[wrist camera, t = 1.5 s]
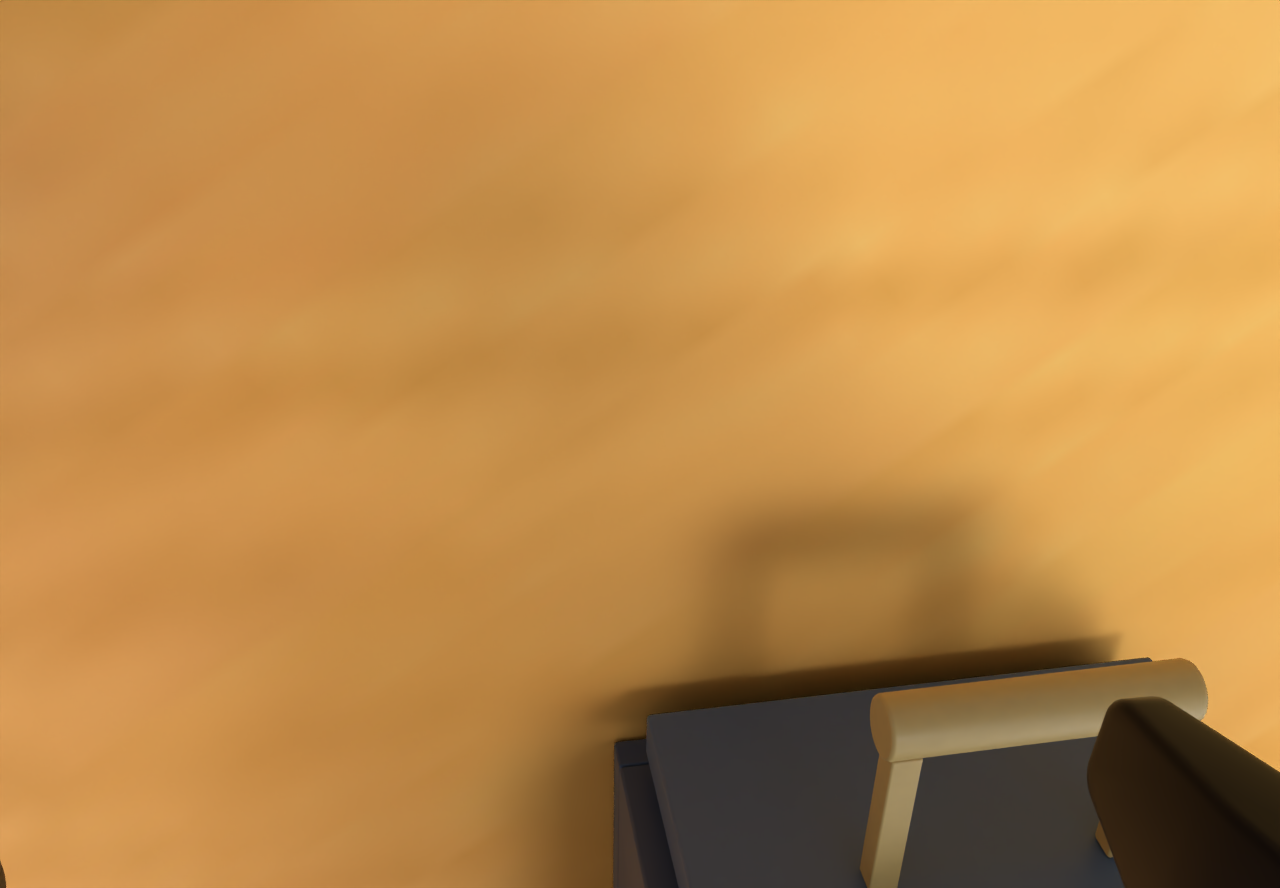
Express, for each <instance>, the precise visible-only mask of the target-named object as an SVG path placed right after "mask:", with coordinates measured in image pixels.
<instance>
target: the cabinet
mask: <svg viewBox="0 0 1280 888" xmlns="http://www.w3.org/2000/svg"><path fill="white" fill-rule="evenodd" d="M613 888H679V887H678V883H677V879H676V875H675V870H674V866H673V862H672V858H671V854H670V849H669V845H668V841H667V837H666V833H665V828H664V824H663V820H662V816H661V812H660V808H659V803H658V799H657V795H656V791H655V787H654V782H653V778H652V774H651V770H650V766H649V761H648V757H647V753H646V739H639V740H630V741H622V742H616V743H615V745H614V839H613Z"/></svg>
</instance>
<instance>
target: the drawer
mask: <svg viewBox="0 0 1280 888" xmlns="http://www.w3.org/2000/svg"><path fill="white" fill-rule="evenodd" d="M1147 696H1157V697H1161V698H1164V699H1166V700H1168V701H1170V702H1172V703H1173V704H1175V705H1176V706H1178V707H1179V708H1181V709H1182V710H1184V711H1186V712H1187V713H1189V714H1190V715H1192V716H1193V717H1195V718H1196V719H1198V720H1199V721H1201V720H1202V719H1203V718H1204V716H1205V714H1206V712H1207V707H1208V694H1207V688H1206V685H1205V681H1204V679H1203V677H1202V675H1201V673H1200V671H1199V670H1198V668H1197V667H1196V666H1195V665H1194V664H1193V663H1192V662H1190V661H1188V660H1185V659H1182V658H1177V659H1169V660H1160V661H1152V660H1151V659H1150V658H1139V659H1130V660H1121V661H1113V662H1104V663H1095V664H1086V665H1078V666H1069V667H1060V668H1052V669H1043V670H1034V671H1026V672H1017V673H1008V674H1000V675H991V676H982V677H974V678H965V679H956V680H948V681H939V682H930V683H922V684H913V685H904V686H896V687H887V688H878V689H869V690H861V691H852V692H843V693H835V694H826V695H817V696H809V697H800V698H791V699H783V700H774V701H765V702H757V703H748V704H739V705H731V706H722V707H713V708H705V709H696V710H687V711H679V712H670V713H661V714H652V715H649V716H648V717H647V736H646V753H647V757H648V761H649V766H650V770H651V774H652V778H653V782H654V787H655V791H656V795H657V799H658V803H659V808H660V812H661V816H662V820H663V824H664V828H665V833H666V837H667V841H668V845H669V849H670V854H671V858H672V862H673V866H674V870H675V875H676V879H677V883H678V887H679V888H1124V885H1123V882H1122V880H1121V877H1120V874H1119V872H1118V869H1117V866H1116V864H1115V861H1114V858H1113V856H1112V853H1111V850H1110V848H1109V845H1108V842H1107V840H1106V837H1105V834H1104V832H1103V829H1102V826H1101V824H1100V821H1099V818H1098V816H1097V813H1096V810H1095V808H1094V805H1093V802H1092V800H1091V797H1090V793H1089V790H1088V785H1087V766H1088V762H1089V759H1090V756H1091V753H1092V750H1093V748H1094V745H1095V742H1096V739H1097V736H1098V733H1099V731H1100V728H1101V725H1102V722H1103V719H1104V716H1105V713H1106V711H1107V709H1108V707H1109V706H1110V705H1111V704H1112V703H1113V702H1114V701H1116V700H1119V699H1124V698H1136V697H1147Z"/></svg>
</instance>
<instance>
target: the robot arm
mask: <svg viewBox="0 0 1280 888" xmlns="http://www.w3.org/2000/svg"><path fill="white" fill-rule="evenodd" d="M1087 785H1088V790H1089V793H1090V797H1091V800H1092V802H1093V805H1094V808H1095V810H1096V813H1097V816H1098V818H1099V821H1100V824H1101V826H1102V829H1103V832H1104V834H1105V837H1106V840H1107V842H1108V845H1109V848H1110V850H1111V853H1112V856H1113V858H1114V861H1115V864H1116V866H1117V869H1118V872H1119V874H1120V877H1121V880H1122V882H1123V885H1124V888H1280V772H1279V771H1277V770H1275V769H1274V768H1272V767H1271V766H1269V765H1268V764H1266V763H1265V762H1263V761H1261V760H1260V759H1258V758H1257V757H1255V756H1254V755H1252V754H1251V753H1249V752H1248V751H1246V750H1244V749H1243V748H1241V747H1240V746H1238V745H1237V744H1235V743H1234V742H1232V741H1230V740H1229V739H1227V738H1226V737H1224V736H1223V735H1221V734H1220V733H1218V732H1217V731H1215V730H1213V729H1212V728H1210V727H1209V726H1207V725H1206V724H1204V723H1203V722H1201V721H1199V720H1198V719H1196V718H1195V717H1193V716H1192V715H1190V714H1189V713H1187V712H1186V711H1184V710H1182V709H1181V708H1179V707H1178V706H1176V705H1175V704H1173V703H1172V702H1170V701H1168V700H1166V699H1164V698H1161V697H1157V696H1147V697H1136V698H1124V699H1119V700H1116V701H1114V702H1113V703H1112V704H1111V705H1110V706H1109V707H1108V709H1107V711H1106V713H1105V716H1104V719H1103V722H1102V725H1101V728H1100V731H1099V733H1098V736H1097V739H1096V742H1095V745H1094V748H1093V750H1092V753H1091V756H1090V759H1089V762H1088V766H1087ZM0 888H6V880H5V874H4V871H3V867H2V865H1V862H0Z"/></svg>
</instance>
